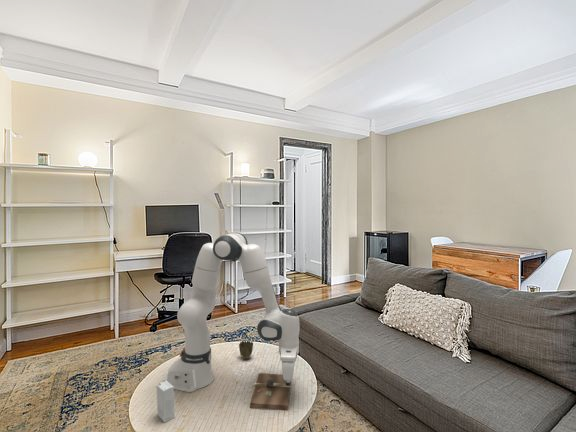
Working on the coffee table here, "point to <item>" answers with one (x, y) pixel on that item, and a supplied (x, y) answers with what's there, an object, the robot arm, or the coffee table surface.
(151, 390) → the coffee table surface
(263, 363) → the coffee table surface
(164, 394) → the skincare box
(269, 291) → the robot arm
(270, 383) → the tuning crank
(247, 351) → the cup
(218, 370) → the coffee table surface
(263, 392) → the board
